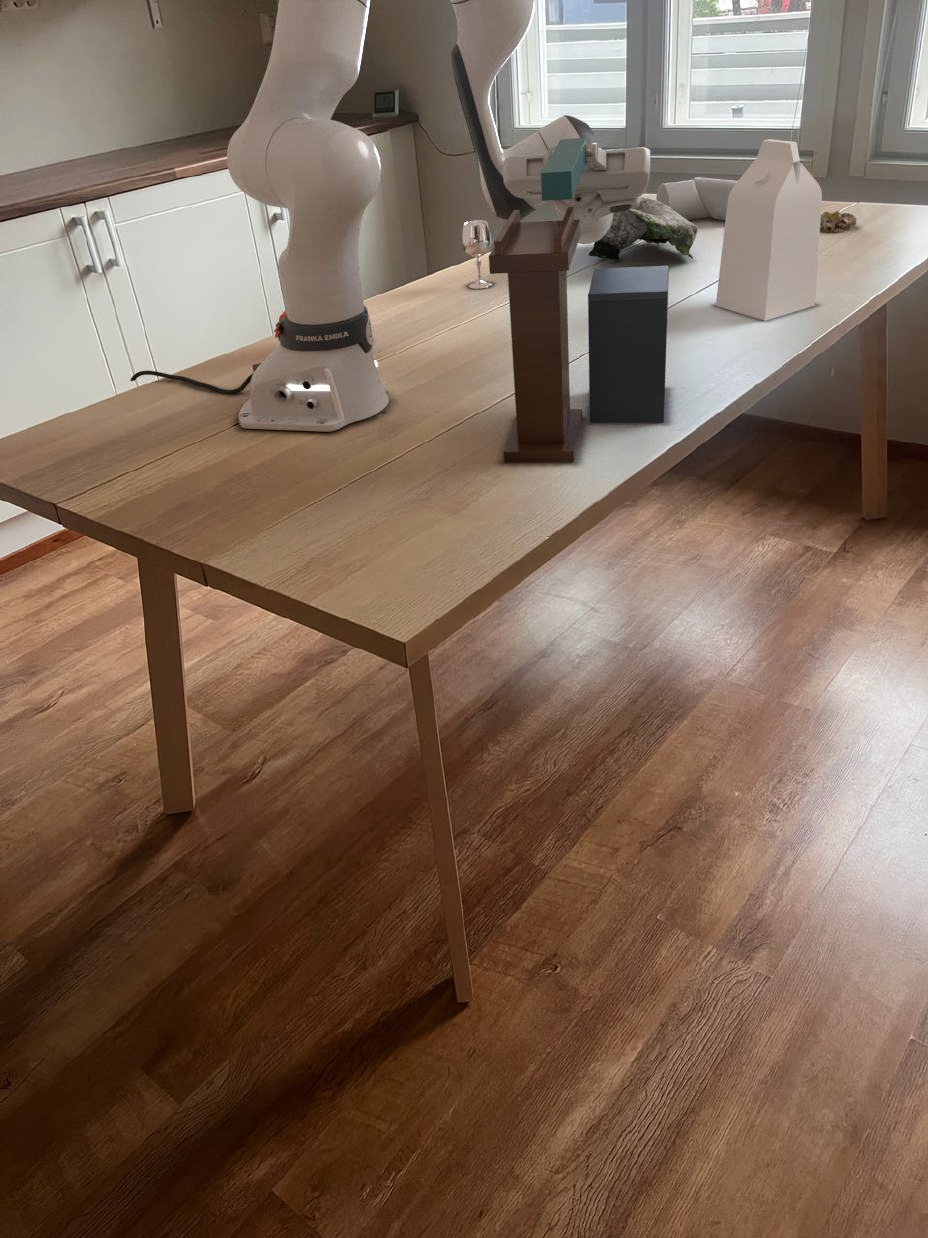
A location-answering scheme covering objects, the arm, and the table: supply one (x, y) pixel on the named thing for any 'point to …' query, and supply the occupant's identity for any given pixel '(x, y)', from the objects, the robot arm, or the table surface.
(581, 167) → the teal block
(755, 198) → the milk
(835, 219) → the mineral rock
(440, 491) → the table surface
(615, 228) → the mossy grey boulder
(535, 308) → the walnut stand
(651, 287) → the slate crate
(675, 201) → the bent grey cylinder
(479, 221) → the wineglass
